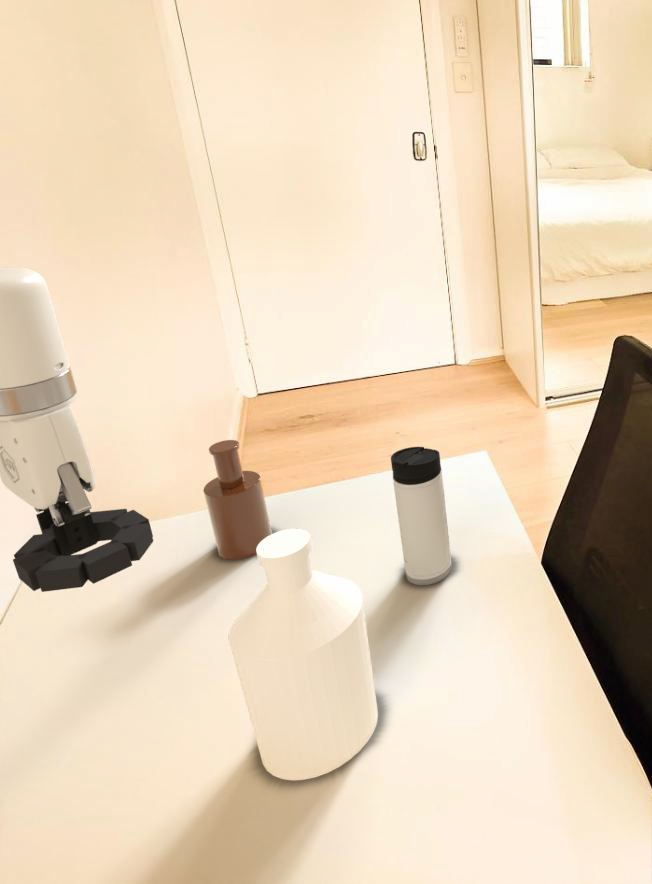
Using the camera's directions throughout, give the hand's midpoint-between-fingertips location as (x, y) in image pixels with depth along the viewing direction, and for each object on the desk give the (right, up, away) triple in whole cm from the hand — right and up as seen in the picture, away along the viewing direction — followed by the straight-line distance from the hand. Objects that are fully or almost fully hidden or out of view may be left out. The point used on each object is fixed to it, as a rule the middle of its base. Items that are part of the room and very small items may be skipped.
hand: (72, 542), depth 75 cm
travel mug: (+29, -12, +25) cm, 40 cm away
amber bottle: (0, -9, +29) cm, 31 cm away
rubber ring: (+3, -1, -2) cm, 4 cm away
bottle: (+27, -21, 0) cm, 34 cm away
